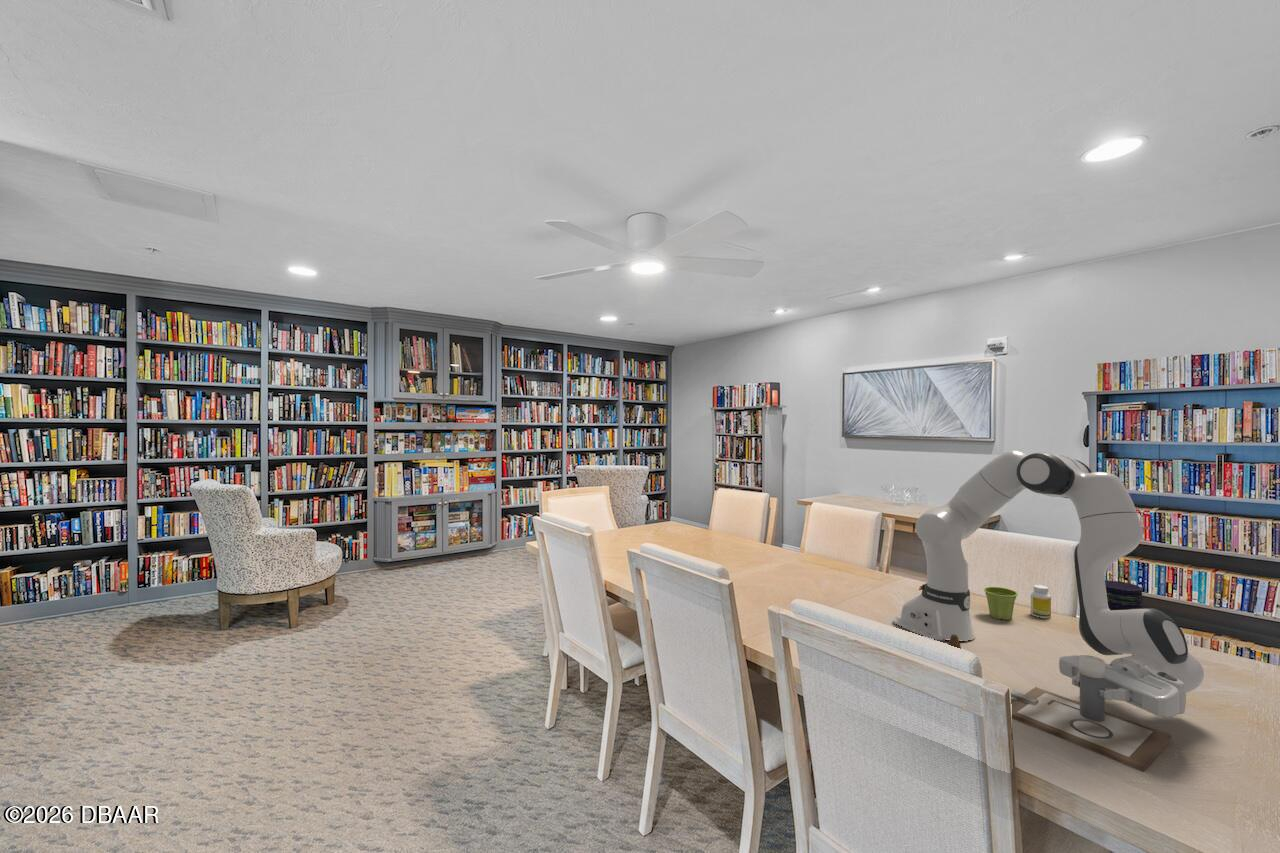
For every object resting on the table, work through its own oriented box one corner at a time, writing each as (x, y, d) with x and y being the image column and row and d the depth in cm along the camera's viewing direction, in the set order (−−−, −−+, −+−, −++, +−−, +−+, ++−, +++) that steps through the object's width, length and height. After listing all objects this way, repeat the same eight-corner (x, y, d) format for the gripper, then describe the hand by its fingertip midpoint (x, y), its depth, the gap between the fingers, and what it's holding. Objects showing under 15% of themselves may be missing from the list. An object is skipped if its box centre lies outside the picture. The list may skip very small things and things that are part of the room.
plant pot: (1005, 624, 172) (1004, 597, 172) (977, 614, 181) (977, 588, 181) (1024, 619, 175) (1024, 593, 175) (996, 610, 184) (996, 585, 184)
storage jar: (1104, 637, 161) (1104, 587, 161) (1095, 625, 170) (1095, 578, 170) (1148, 643, 156) (1148, 592, 156) (1136, 631, 165) (1136, 583, 165)
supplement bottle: (1054, 619, 176) (1054, 589, 175) (1035, 618, 177) (1035, 588, 176) (1045, 613, 181) (1045, 584, 181) (1027, 612, 182) (1027, 583, 182)
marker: (1075, 715, 113) (1075, 658, 113) (1083, 708, 115) (1083, 653, 115) (1101, 724, 109) (1100, 665, 109) (1108, 717, 112) (1108, 660, 112)
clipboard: (993, 710, 122) (993, 703, 122) (1028, 687, 131) (1028, 681, 131) (1143, 771, 100) (1143, 762, 100) (1171, 739, 110) (1171, 731, 110)
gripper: (1084, 645, 126) (1039, 652, 122) (1194, 686, 106) (1145, 697, 102) (1084, 672, 126) (1039, 680, 122) (1194, 718, 106) (1145, 729, 102)
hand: (1088, 688), depth 112 cm, fingers closed on marker, 4 cm apart
